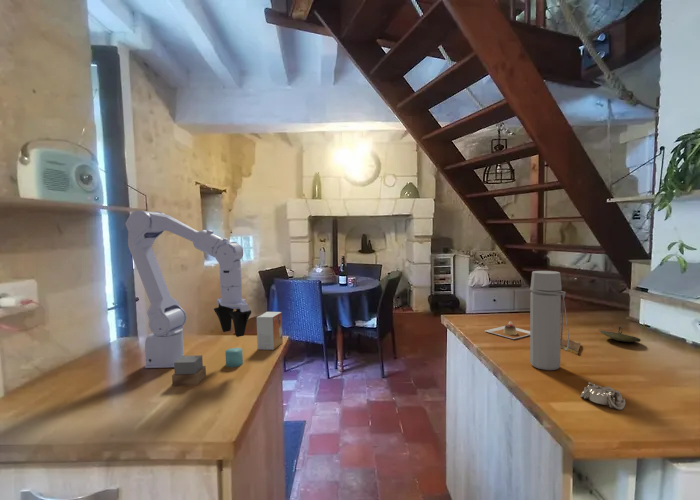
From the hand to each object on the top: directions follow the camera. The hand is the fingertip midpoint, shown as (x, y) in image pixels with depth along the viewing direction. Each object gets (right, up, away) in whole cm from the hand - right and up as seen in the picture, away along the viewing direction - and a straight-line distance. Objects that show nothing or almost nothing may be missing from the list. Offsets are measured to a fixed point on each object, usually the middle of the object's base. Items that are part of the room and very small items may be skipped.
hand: (233, 333), depth 107 cm
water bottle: (+85, -7, -7) cm, 86 cm away
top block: (-8, -7, -11) cm, 15 cm away
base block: (-8, -10, -11) cm, 17 cm away
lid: (+117, -6, +12) cm, 118 cm away
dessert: (+88, -6, +25) cm, 92 cm away
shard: (+100, -7, +8) cm, 101 cm away
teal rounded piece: (0, -9, +1) cm, 9 cm away
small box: (+7, -8, +17) cm, 20 cm away
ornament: (+86, -9, -27) cm, 91 cm away
